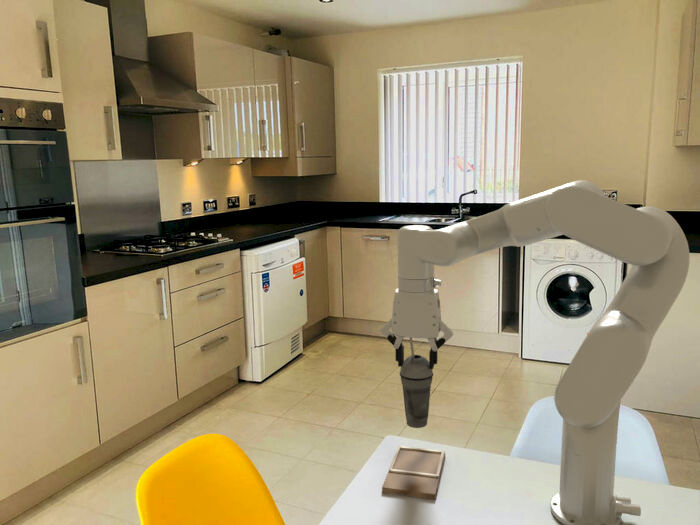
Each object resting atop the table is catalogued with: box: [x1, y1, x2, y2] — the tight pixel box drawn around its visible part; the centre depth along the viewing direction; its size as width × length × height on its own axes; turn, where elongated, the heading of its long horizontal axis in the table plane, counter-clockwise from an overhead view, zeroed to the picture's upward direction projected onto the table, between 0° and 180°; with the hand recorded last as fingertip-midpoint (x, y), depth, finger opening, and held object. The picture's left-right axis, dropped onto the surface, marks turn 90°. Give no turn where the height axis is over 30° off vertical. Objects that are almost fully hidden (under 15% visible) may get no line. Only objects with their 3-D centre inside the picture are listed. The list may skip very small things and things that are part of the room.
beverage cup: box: [399, 338, 434, 429], centre depth 127 cm, size 7×7×20 cm
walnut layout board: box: [381, 445, 446, 500], centre depth 128 cm, size 11×17×2 cm, turn 164°
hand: (416, 364), depth 127 cm, fingers closed on beverage cup, 6 cm apart
